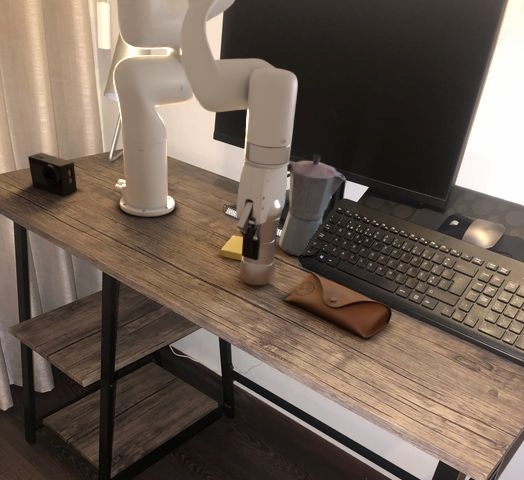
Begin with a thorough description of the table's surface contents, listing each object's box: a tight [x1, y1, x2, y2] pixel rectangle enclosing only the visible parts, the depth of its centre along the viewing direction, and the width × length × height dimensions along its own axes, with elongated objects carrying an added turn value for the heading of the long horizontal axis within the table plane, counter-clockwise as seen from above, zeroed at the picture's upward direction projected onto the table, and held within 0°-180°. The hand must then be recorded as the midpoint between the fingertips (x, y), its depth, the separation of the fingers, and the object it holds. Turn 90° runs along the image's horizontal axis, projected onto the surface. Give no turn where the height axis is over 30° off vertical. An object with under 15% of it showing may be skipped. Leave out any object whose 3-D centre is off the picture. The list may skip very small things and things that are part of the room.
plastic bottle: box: [239, 200, 283, 286], centre depth 100 cm, size 6×7×20 cm
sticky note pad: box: [220, 235, 243, 261], centre depth 115 cm, size 8×8×2 cm
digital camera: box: [27, 152, 78, 196], centre depth 132 cm, size 10×5×7 cm, turn 61°
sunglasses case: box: [284, 271, 393, 339], centre depth 99 cm, size 18×7×7 cm, turn 52°
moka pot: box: [278, 154, 347, 257], centre depth 113 cm, size 10×15×20 cm, turn 78°
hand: (258, 250), depth 102 cm, fingers open, 5 cm apart
